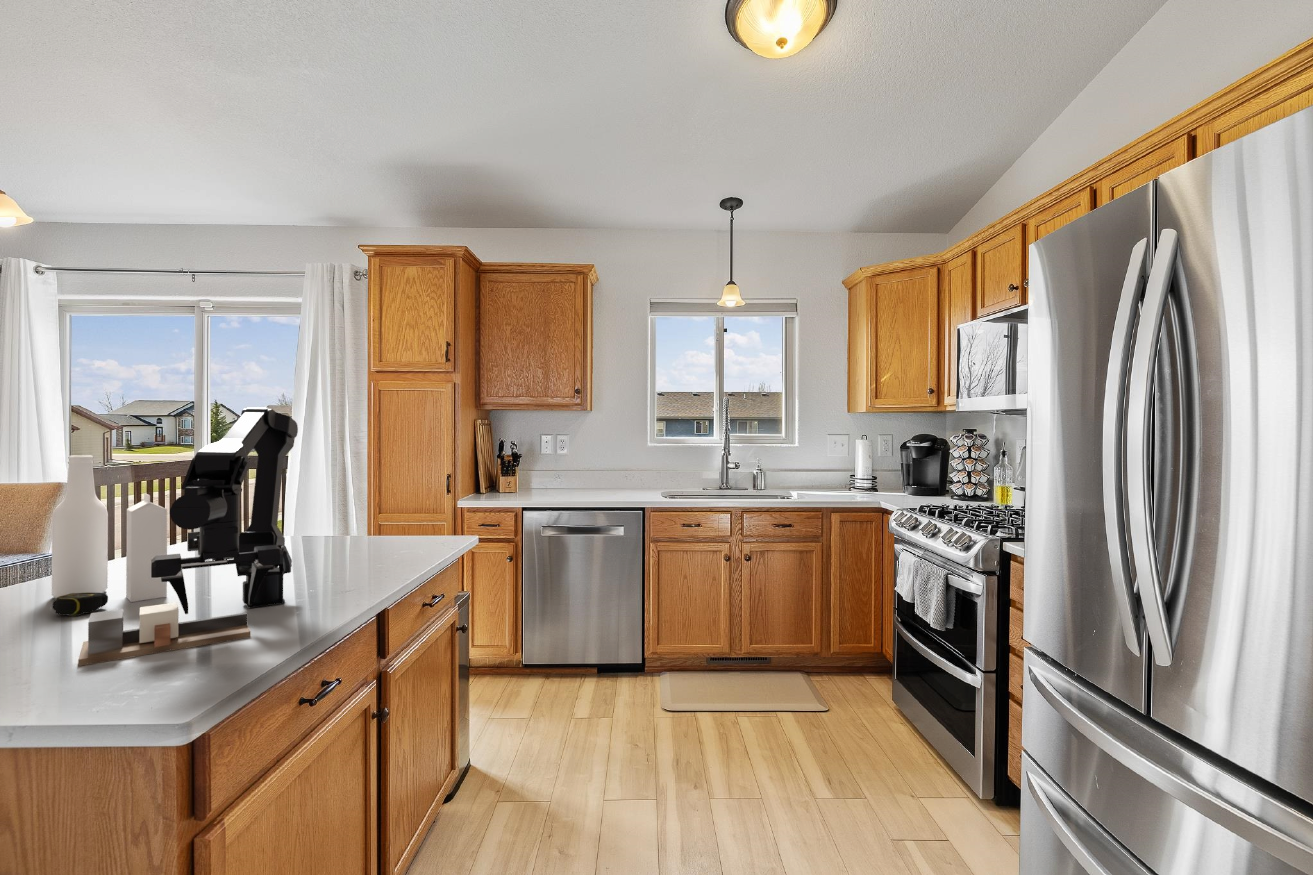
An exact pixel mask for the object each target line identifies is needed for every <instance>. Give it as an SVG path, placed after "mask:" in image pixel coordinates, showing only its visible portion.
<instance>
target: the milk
mask: <svg viewBox="0 0 1313 875" xmlns="http://www.w3.org/2000/svg"><path fill="white" fill-rule="evenodd" d="M125 555H126V557H125V558H126V559H125V560H126V565H125V566H126V567H125V568H126V569H125V570H126V575H125V577H126V578H125V580H126V588H125V589H126V591H125V593H126V598H127V600H129V602H131V603H134V602H141V601H148V600H154V599H161V598H167V597H168V594H167V593H168V584H167V583H168V582H161V577H158V578H151V560H152V559H153V558H154V557H155V556H159V555H168V509H167V508H165V507H163V506H161V505H159V504H156V503H154V502H151V495H150V494H147V493H144V496H143V500H141V501H139V502H138V503H135V504H134V505H132V506H129V507H128V508H126V554H125Z"/></svg>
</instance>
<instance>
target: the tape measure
mask: <svg viewBox="0 0 1313 875" xmlns="http://www.w3.org/2000/svg"><path fill="white" fill-rule="evenodd" d="M108 601H109V597H108V594H106V593H105V592H104V593H71V594H67V595H63V596H59V597H57V598H56V599H55V600H54V601H53V602H52V609H53V611H54V613H55V614H56V615H59V616H68V617H73V616H81V615H83V614H88V613H93V612H95V611H97V610H99V609H101V608H102V607H105V606H106V604H107V603H108Z"/></svg>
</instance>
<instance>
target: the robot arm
mask: <svg viewBox="0 0 1313 875" xmlns="http://www.w3.org/2000/svg"><path fill="white" fill-rule="evenodd" d="M298 432H299V427H298V423H297V421H296V420H294V419H293V418H292V417H291V416H289V415H286V414H283V413H279V412H277V411H275V410H274V409H273V408H270V407H252V406H251V407H247V408H243V409H242V410H241V414H240V417H239V418H238V419H237V420H236V422H234V423H233V425H232V427H231V428H230V429H229V430H228V431H227V432H226V434H225V435H224V436H223V437H222V438H221V439H220V440H219V441H216V442H212V443H209V444H207V445H205V446H204V447H202V448H201V449H199V450H198V451H197V452H196V453H195V455H194V456H193V457H192V458H191V460H190V463H189V466H188V469H187V471H186V474H185V477H184V480H183V483H182V484H181V490H182V491H183V492H184V493H183V494H184V495H180V496H179V497H178V498H176V499H175V500H174V502H173V503H172V505H171V507H170V508H169V516H170V519H171V521H172V522H173V524H174V525H175V526H177V527H178V528H180V529H182V530H196V529H199V531H191V532H190V531H189V532H187V534H186V535H187V541H186V542H187V543H186V544H187V552H195V551H196V552H197V555H198V556H193V557H183V558H182V555H181V553H173V554H170V553H169V554H167V555H159V556H155V557H154V558H153V559H152V560H151V578H158V577H161V582H167V583H169V584H170V585H171V587H172V589H173V591H174V592H175V594H176V595H177V598H178V600H179V603H180V605H181V607H182V610H183V612H184V614H185V615H188V614H189V603H188V597H187V589H186V584H185V577H184V572H183V570H187V569H200V568H207V567H217V566H226V565H235V568H236V573H237V574H236V575H237V577H242V576H243V577H245V581H243V582H242V602H243V604H245V606H246V607H247V609H252V608H258V607H266V606H273V605H279V604H285V603H286V600H285V598H284V575H285V574H290V573H291V572H292V567H293V566H292V565H293V564H292V562H293V561H292V560H293V559H292V558H291V555H290V554H289V551H288V548H287V546H286V545H285V544H286V543H285V541H286V538H285V536H284V534H283V533H282V531H281V529H280V528H279V526H278V522H279V511H280V499H281V491H282V490H281V489H282V480H283V479H282V478H283V470H284V459H285V457H286V456H287V455H288V453H290V452H291V450H292V449H293V448H294V444H295V439H296V438H297V436H298ZM253 449H254V451H255V453H256V455H257V461H256V472H255V480H254V489H253V498H252V509H251V518H250V524H249V526H248V527H247V528H246V530H244V531H241V532H240V493H242V491H243V488H242V487H241V486H240V485H243V483H244V481H245V478H246V476H247V473H248V471H249V470H250V463H249V460H248V455H249V454H250V453H251V451H252V450H253Z"/></svg>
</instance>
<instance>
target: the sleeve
mask: <svg viewBox="0 0 1313 875" xmlns="http://www.w3.org/2000/svg"><path fill="white" fill-rule="evenodd" d="M179 610H180V609H179V604H178V602H171V603H169V602H168V603H163V604H154V605H146V606H141V607H139V643H144V642H150V641H154V634H155V625H161V624H168V623H170V638H175V637H178V623H179V616H180V615H179Z"/></svg>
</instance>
